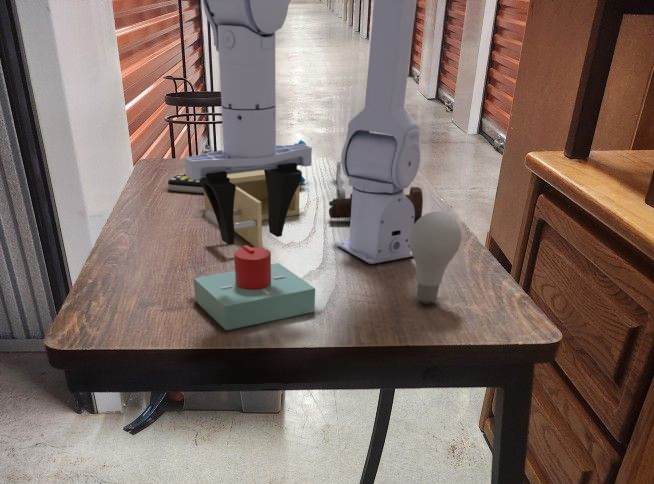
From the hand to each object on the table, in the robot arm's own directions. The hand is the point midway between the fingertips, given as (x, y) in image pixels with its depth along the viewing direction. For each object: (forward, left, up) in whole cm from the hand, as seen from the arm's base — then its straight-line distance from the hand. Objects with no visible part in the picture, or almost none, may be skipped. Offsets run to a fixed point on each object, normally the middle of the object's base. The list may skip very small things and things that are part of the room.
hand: (252, 238), depth 78 cm
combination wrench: (+41, -37, -9) cm, 56 cm away
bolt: (+23, -33, -9) cm, 41 cm away
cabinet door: (+25, -7, -8) cm, 27 cm away
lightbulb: (-9, -20, -9) cm, 24 cm away
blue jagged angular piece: (+51, -31, -9) cm, 60 cm away
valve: (0, 0, -5) cm, 5 cm away
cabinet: (+37, -17, -8) cm, 42 cm away
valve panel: (0, 0, -8) cm, 8 cm away
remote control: (+55, -15, -9) cm, 58 cm away
